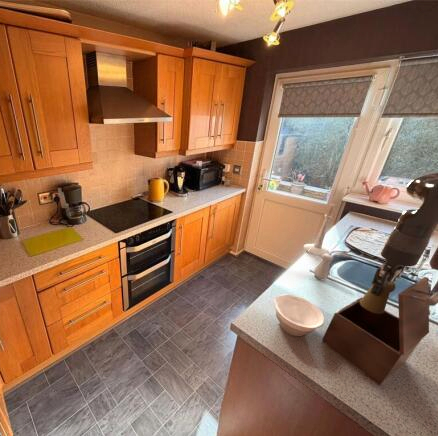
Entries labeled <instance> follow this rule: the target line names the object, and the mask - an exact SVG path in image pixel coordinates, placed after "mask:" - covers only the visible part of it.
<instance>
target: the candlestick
mask: <svg viewBox="0 0 438 436" xmlns="http://www.w3.org/2000/svg"><path fill="white" fill-rule="evenodd" d="M335 206H336V204H334V203H330V204H329V207H328V210H327V213H326V214H324V216H325V217H324V219H325V220H324V221H323V223H322V225H321V228H320V230H319V233H318V235H317V237H316V240H315V242H314V243H306V244H304V245H303V250H304V251H305V252H307V251H308V250H309V249H310V248H311V247H312V248H311V249H310V250H309V251H308V252H309V253H308V252H307V253H308V254H310V253H312V254H311V255H313V254H314V255H313V256H316V255H317V257H322V255H323V254H329V255H331V252H330V250H329V249H327V248H326V247H325V246H323V243H324V239H325V236H326V234H327V229H328V226H329V221H330V220H331V219H332V218H333V217H334V216H333V215H332V214H333V212H334V209H335Z"/></svg>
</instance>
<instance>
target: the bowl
mask: <svg viewBox="0 0 438 436" xmlns="http://www.w3.org/2000/svg"><path fill="white" fill-rule="evenodd" d="M273 305H274V309H275V316H276V318H277V320H278V322H279V325H280V327H281V329H282V330H283V331H285V332H286V333H287V334H290V335H291V336H293V337H294V336H295V337H302V336H304V335H308V334H311V333H313V332H314V331H315V330H317V329H318V328H319V329H320V328H321V327H322V326H323V325H325V317H324V314H323V312H322V311H321V309H319V308H318V306H317V305H315V304H313V303H312V302H311V301H309V300H307V299H305V298H303V297H300V296H298V295H293V294H281V295H278V296H276V297H275V299H274V300H273Z"/></svg>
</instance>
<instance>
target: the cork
mask: <svg viewBox="0 0 438 436" xmlns="http://www.w3.org/2000/svg"><path fill="white" fill-rule="evenodd" d="M372 281H373V279H372V280H371V287H370V288H369V289H368V290H367V291H366V292H365V294H364V295H363V296H362V299H361V300H360V302H359V303H360V305H361V306H362V307H363V308H365V309H366V310H368V311H370V312H373V313H376V314H382V313H384V310H385V311H386V306H387V304H388V300H389V297H390V293H392V292H394V291H395V290H396V284H395V281H394V282H393V281H392V282H389V283H388V284H387V285H386V287H385V288H384V290H383V292H382V294H381V296H379V297H378V296H376V295H374V294H372V293H371V290H372V288H373V286H374V284H373V283H372ZM380 282H381V281H380Z"/></svg>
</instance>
